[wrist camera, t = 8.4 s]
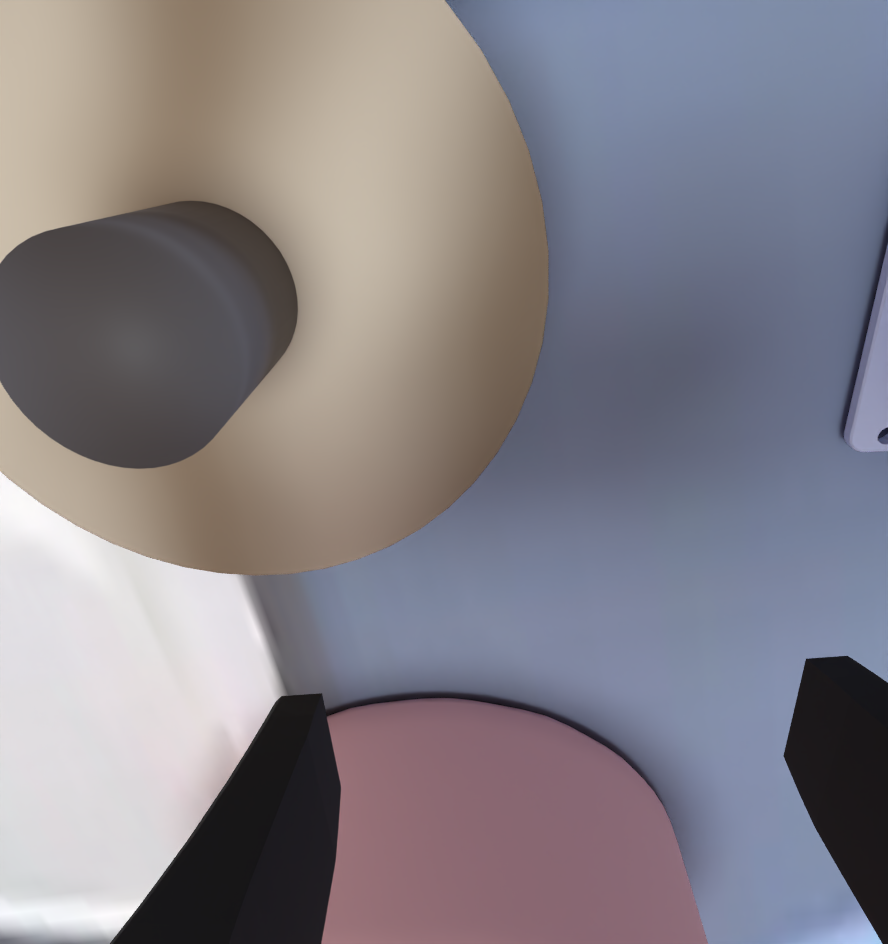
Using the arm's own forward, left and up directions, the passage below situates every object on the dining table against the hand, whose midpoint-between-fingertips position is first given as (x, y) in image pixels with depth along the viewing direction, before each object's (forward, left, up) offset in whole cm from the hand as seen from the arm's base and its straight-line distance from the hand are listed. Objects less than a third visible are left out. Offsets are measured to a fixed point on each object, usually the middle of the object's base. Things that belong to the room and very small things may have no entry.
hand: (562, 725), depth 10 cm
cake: (+4, +20, -11) cm, 23 cm away
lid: (+6, -6, -5) cm, 10 cm away
